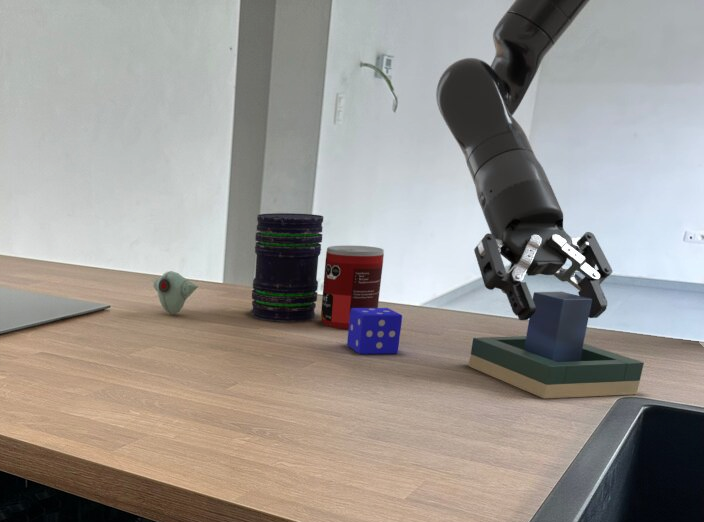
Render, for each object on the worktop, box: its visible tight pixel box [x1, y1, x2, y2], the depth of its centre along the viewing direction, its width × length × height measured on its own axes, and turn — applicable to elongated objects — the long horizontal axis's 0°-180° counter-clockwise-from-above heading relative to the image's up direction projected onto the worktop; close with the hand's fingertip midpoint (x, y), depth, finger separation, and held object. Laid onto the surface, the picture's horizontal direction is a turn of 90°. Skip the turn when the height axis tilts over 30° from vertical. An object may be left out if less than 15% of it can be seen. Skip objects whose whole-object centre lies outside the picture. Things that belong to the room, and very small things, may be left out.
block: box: [524, 291, 592, 362], centre depth 95 cm, size 4×5×8 cm
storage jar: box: [251, 212, 324, 323], centre depth 130 cm, size 10×10×15 cm
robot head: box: [152, 270, 199, 316], centre depth 132 cm, size 8×4×7 cm, turn 46°
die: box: [346, 307, 403, 355], centre depth 110 cm, size 5×5×5 cm
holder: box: [468, 335, 645, 400], centre depth 96 cm, size 11×14×4 cm
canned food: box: [320, 244, 385, 330], centre depth 124 cm, size 8×8×11 cm
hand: (563, 315), depth 94 cm, fingers open, 8 cm apart
